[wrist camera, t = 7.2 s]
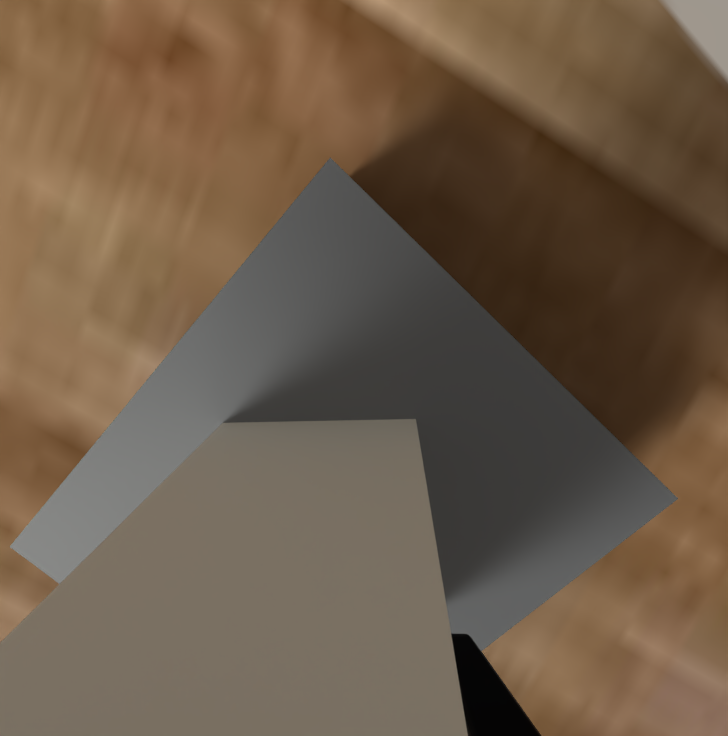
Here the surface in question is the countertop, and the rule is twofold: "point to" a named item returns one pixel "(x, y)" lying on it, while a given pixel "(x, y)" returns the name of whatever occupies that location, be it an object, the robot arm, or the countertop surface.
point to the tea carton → (253, 600)
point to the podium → (376, 410)
